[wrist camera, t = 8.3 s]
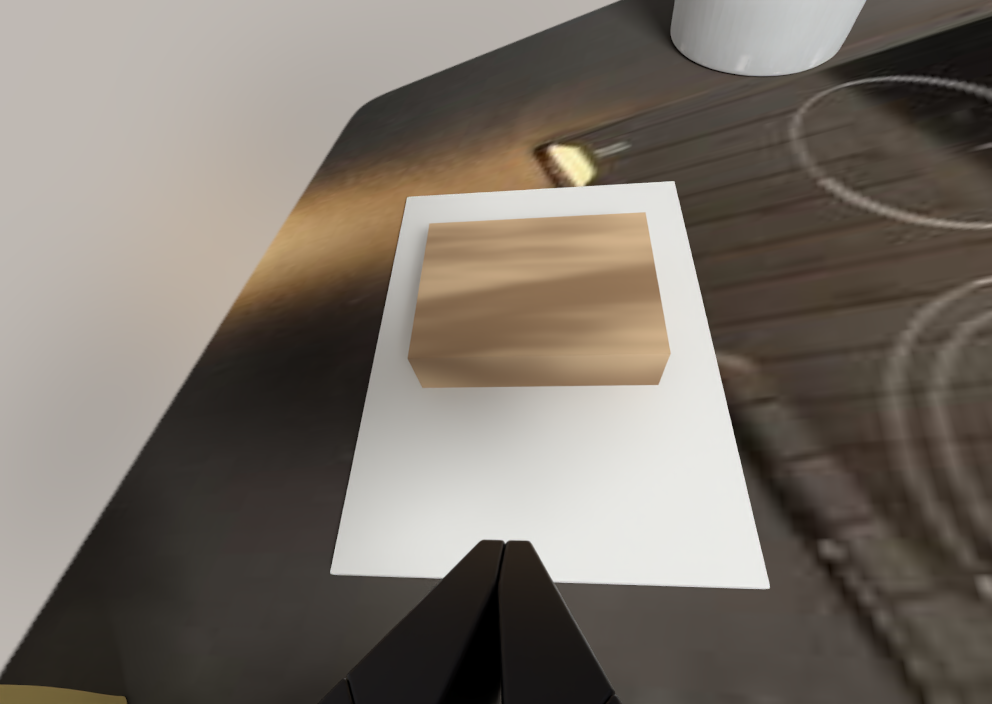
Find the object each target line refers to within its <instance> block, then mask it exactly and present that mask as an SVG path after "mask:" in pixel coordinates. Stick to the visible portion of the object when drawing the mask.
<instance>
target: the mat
mask: <svg viewBox="0 0 992 704" xmlns="http://www.w3.org/2000/svg"><path fill="white" fill-rule="evenodd" d="M640 212H646V218H647V223H648V229H649V234H650V240H651V246H652V251H653V257H654V262H655V268H656V274H657V279H658V285H659V290H660V296H661V302H662V307H663V313H664V318H665V324H666V330H667V335H668V341H669V346H670V352H671V354H670V357H669V359H668V362H667V364H666V367H665V369H664V372H663V374H662V377H661V380H660V382H659V385H618V386H538V387H458V388H422V386H421V384H420V382H419V380H418V378H417V376H416V374H415V372H414V370H413V368H412V366H411V364H410V362H409V361H408V359H407V358H408V352H409V346H410V340H411V334H412V328H413V321H414V315H415V309H416V303H417V297H418V291H419V285H420V278H421V272H422V266H423V260H424V254H425V248H426V241H427V235H428V229H429V223H448V222H467V221H486V220H505V219H525V218H544V217H563V216H582V215H602V214H621V213H640ZM484 539H485V540H503V541H504V542H505V544H506V542H507V541H509V540H527V541H530V542H531V543H532V545H533V546H534V548H535V550H536V552H537V554H538V555H539V557H540V559H541V561H542V562H543V564H544V566H545V568H546V570H547V571H548V573H549V575H550V577H551V578H552V580H553V582H563V583H593V584H623V585H653V586H683V587H713V588H743V589H768V588H770V585H769V581H768V577H767V572H766V568H765V564H764V560H763V555H762V551H761V547H760V543H759V539H758V534H757V530H756V526H755V522H754V517H753V513H752V509H751V505H750V500H749V496H748V492H747V488H746V483H745V479H744V475H743V471H742V466H741V462H740V458H739V454H738V450H737V445H736V441H735V437H734V433H733V428H732V424H731V420H730V416H729V411H728V407H727V403H726V399H725V394H724V390H723V386H722V382H721V377H720V373H719V369H718V365H717V361H716V356H715V352H714V348H713V344H712V339H711V335H710V331H709V327H708V322H707V318H706V314H705V310H704V305H703V301H702V297H701V293H700V288H699V284H698V280H697V276H696V272H695V267H694V263H693V259H692V255H691V250H690V246H689V242H688V238H687V233H686V229H685V225H684V221H683V216H682V212H681V208H680V204H679V200H678V195H677V191H676V187H675V183H674V181H671V182H654V183H637V184H620V185H603V186H586V187H569V188H552V189H535V190H518V191H501V192H483V193H466V194H449V195H432V196H415V197H407V201H406V206H405V211H404V215H403V220H402V225H401V230H400V235H399V240H398V245H397V250H396V254H395V259H394V264H393V269H392V274H391V279H390V284H389V288H388V293H387V298H386V303H385V308H384V313H383V318H382V323H381V327H380V332H379V337H378V342H377V347H376V352H375V357H374V361H373V366H372V371H371V376H370V381H369V386H368V391H367V396H366V400H365V405H364V410H363V415H362V420H361V425H360V430H359V434H358V439H357V444H356V449H355V454H354V459H353V464H352V469H351V473H350V478H349V483H348V488H347V493H346V498H345V503H344V507H343V512H342V517H341V522H340V527H339V532H338V537H337V542H336V546H335V551H334V556H333V561H332V566H331V571H330V574H333V575H352V576H382V577H413V578H444V577H445V576H446V575H447V574H448V573H449V571H450V570H451V569H452V568H453V567H454V566H455V565H456V564H457V563H458V562H459V561H460V560H461V559H462V558H463V557H464V556H465V555H466V554H467V553H468V552H469V551H470V550H471V549H472V548H473V547H474V546H475V545H476V544H477V543H478V542H479V541H481V540H484Z"/></svg>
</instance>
